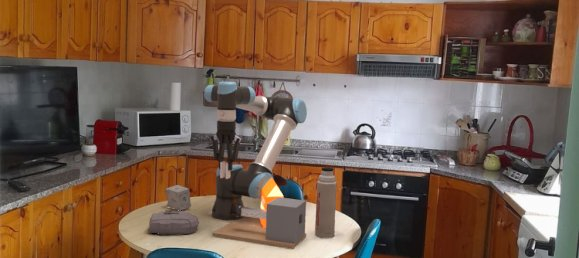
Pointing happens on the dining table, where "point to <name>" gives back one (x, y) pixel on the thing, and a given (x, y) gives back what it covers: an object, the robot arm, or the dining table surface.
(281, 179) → the decorative mushroom
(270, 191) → the orange juice
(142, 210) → the dining table surface
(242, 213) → the shaft
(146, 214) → the dining table surface
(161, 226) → the grey rounded bag
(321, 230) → the thermos bottle
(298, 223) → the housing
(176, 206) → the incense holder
